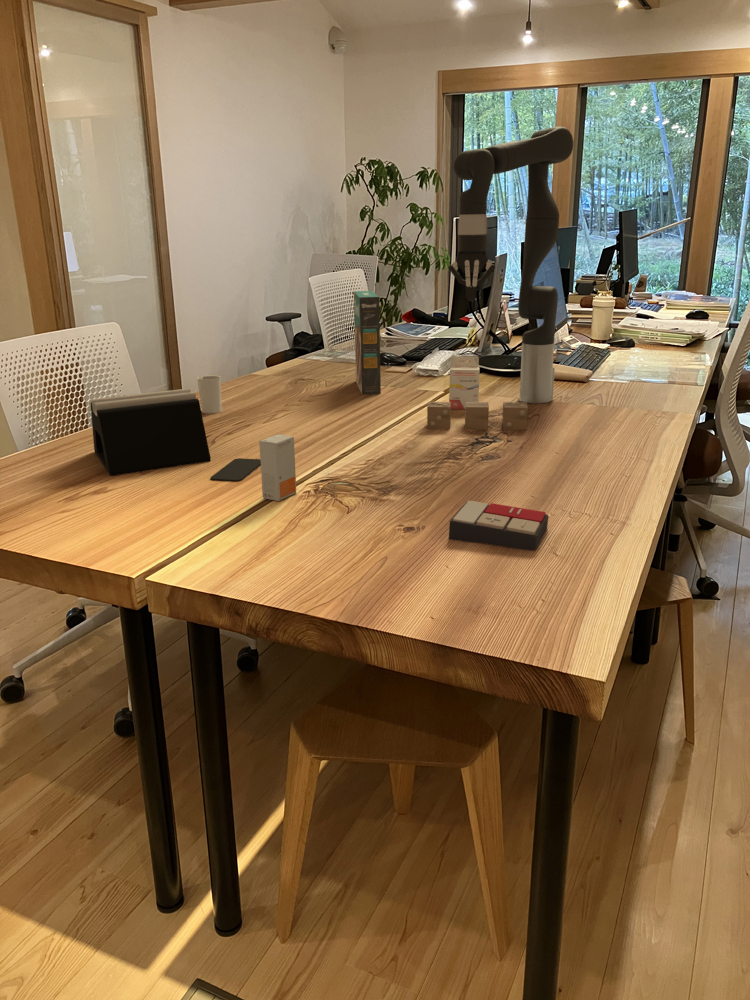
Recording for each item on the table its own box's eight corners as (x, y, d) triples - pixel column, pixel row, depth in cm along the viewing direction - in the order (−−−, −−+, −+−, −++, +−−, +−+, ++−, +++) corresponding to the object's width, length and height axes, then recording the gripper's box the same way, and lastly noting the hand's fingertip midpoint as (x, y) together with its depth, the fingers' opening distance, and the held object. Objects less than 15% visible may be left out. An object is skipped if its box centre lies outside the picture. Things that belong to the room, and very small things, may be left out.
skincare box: (279, 502, 154) (275, 443, 150) (262, 498, 156) (258, 440, 152) (297, 493, 159) (294, 436, 154) (281, 489, 161) (277, 433, 157)
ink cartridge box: (448, 409, 226) (449, 358, 221) (449, 405, 231) (449, 355, 226) (478, 409, 225) (480, 358, 220) (478, 405, 230) (479, 355, 225)
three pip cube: (428, 423, 211) (428, 401, 209) (450, 423, 210) (450, 401, 208) (427, 429, 205) (427, 406, 203) (450, 429, 205) (450, 406, 203)
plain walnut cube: (465, 423, 210) (465, 402, 208) (487, 424, 209) (488, 402, 207) (464, 429, 204) (465, 407, 202) (488, 429, 204) (488, 407, 202)
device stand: (210, 462, 181) (204, 399, 176) (110, 477, 172) (101, 411, 167) (186, 440, 200) (180, 382, 195) (94, 453, 191) (86, 392, 186)
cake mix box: (355, 381, 268) (353, 291, 258) (373, 380, 269) (371, 290, 259) (361, 394, 248) (359, 297, 238) (380, 393, 249) (379, 296, 238)
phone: (208, 478, 168) (235, 458, 181) (208, 482, 168) (235, 461, 182) (240, 480, 166) (265, 459, 180) (240, 483, 166) (265, 462, 180)
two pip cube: (502, 424, 209) (503, 401, 207) (525, 424, 208) (526, 401, 206) (503, 430, 203) (504, 406, 201) (526, 430, 202) (527, 407, 200)
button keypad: (537, 532, 128) (449, 517, 133) (534, 556, 129) (447, 540, 134) (549, 510, 137) (467, 496, 142) (546, 532, 139) (465, 518, 144)
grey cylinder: (220, 413, 226) (217, 379, 223) (198, 414, 226) (194, 379, 223) (225, 408, 233) (222, 375, 229) (203, 408, 233) (200, 375, 229)
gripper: (446, 233, 202) (445, 302, 208) (498, 232, 200) (496, 302, 206) (447, 233, 209) (446, 299, 215) (497, 232, 207) (495, 299, 213)
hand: (471, 300), depth 211 cm, fingers closed
